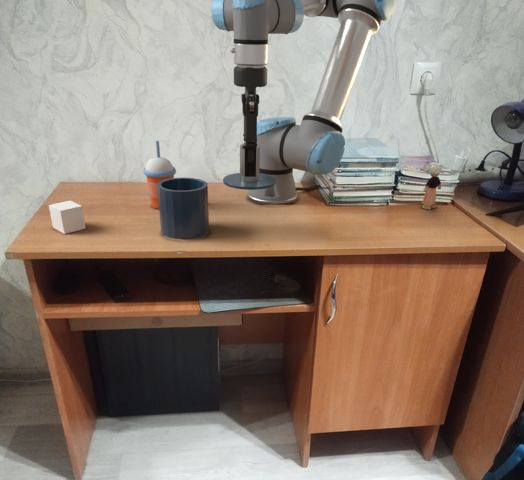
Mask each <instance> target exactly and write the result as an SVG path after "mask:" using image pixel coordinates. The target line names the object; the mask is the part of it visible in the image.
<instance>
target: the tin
mask: <svg viewBox="0 0 524 480" xmlns="http://www.w3.org/2000/svg"><path fill="white" fill-rule="evenodd" d="M208 186H209V185H208V182H207V181H206V180H203V179H200V178H195V177H174V178H172V179H166V180H163V181H161V182H159V183H158V185H157V187H158V199H159V209H158V210H159V221H160V222H159V223H160V233H161V235H162V237H164V236H165V237H167V238H169V239H174V240H184V241H185V240H194V239H201V238H202V237H205V236H207V234H209V233H210V217H209V216H210V215H209V187H208Z"/></svg>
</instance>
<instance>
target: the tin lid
mask: <svg viewBox="0 0 524 480" xmlns="http://www.w3.org/2000/svg"><path fill="white" fill-rule="evenodd" d="M242 146H245V144H244V143H241V144H240V145H239V172H235V173H231V174H227V175H226V176H224V177H223V178H222V183H223V184H224V185H225V186H227V187H229V188H233V189H237V190H246V191H248V190H256V189H265V188H269V187H272V186H274V185H275V184H276V179H275V178H274V177H272V176H270V175H267V174H262V173H259V168H260V145H258V144H257V148H256V177H245V149H242Z"/></svg>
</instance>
